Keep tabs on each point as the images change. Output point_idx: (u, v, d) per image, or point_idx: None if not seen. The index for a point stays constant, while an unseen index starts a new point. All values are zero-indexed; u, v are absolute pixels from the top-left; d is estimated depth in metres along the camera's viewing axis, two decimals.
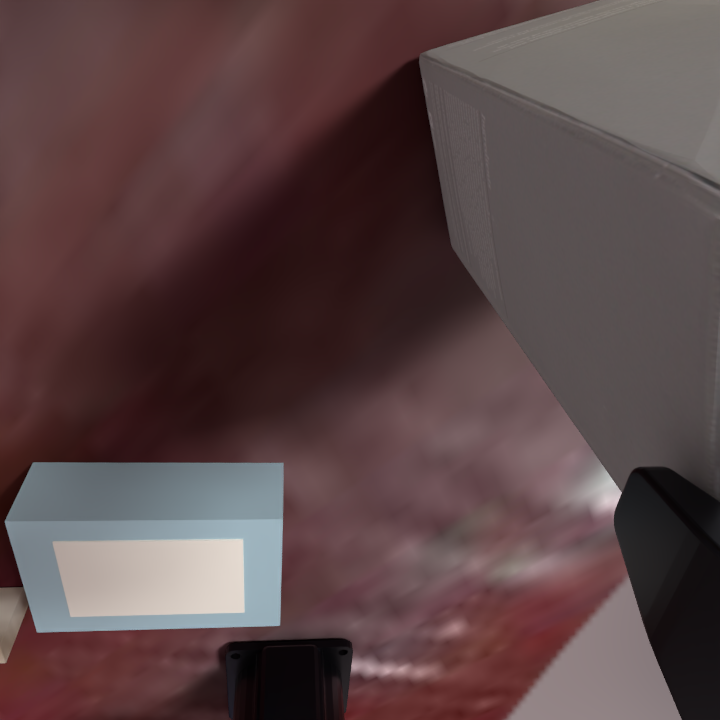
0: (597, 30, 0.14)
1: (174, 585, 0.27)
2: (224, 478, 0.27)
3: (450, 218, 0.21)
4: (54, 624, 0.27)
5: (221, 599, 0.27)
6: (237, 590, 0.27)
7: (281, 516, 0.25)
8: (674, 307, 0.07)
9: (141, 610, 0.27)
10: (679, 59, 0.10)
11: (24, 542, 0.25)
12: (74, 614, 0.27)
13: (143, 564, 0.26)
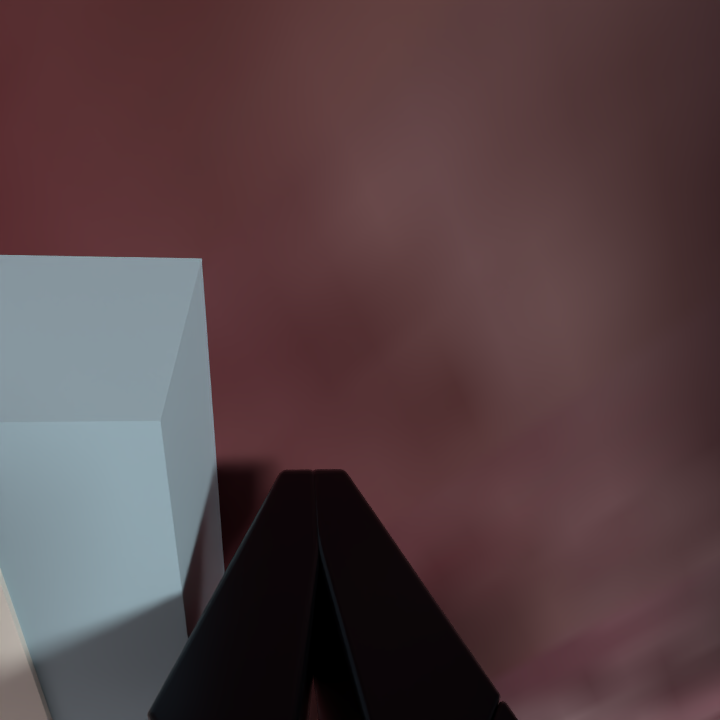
0: None
1: None
2: None
3: None
4: None
5: None
6: None
7: (156, 409, 0.05)
8: None
9: None
10: None
11: None
12: None
13: None
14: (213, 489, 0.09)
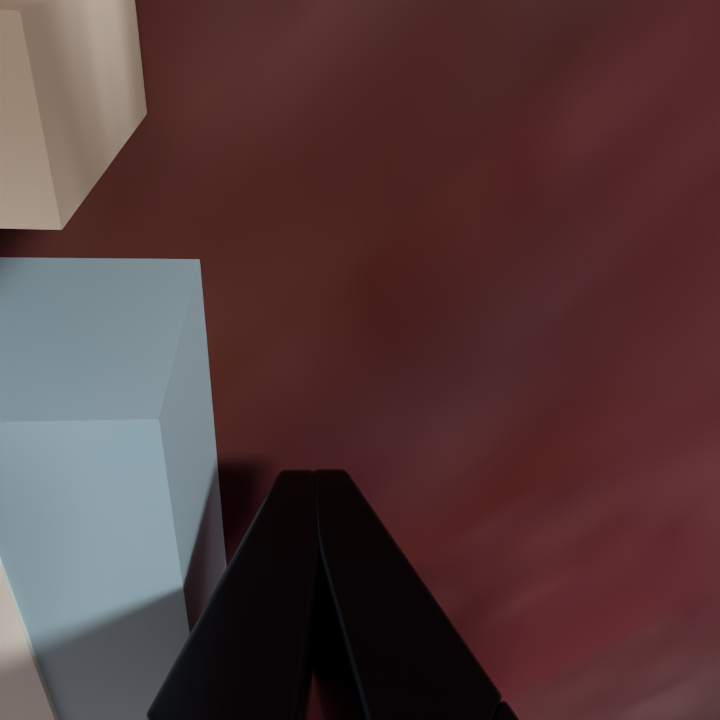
0: None
1: None
2: None
3: None
4: None
5: None
6: None
7: (154, 407, 0.05)
8: None
9: None
10: None
11: None
12: None
13: None
14: (214, 486, 0.09)
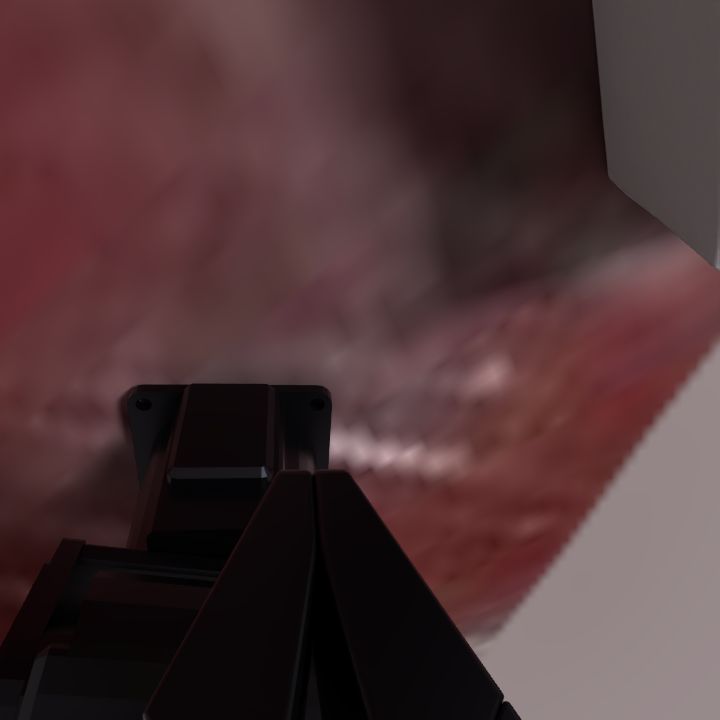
0: None
1: None
2: None
3: None
4: None
5: None
6: None
7: None
8: (683, 213, 0.14)
9: None
10: None
11: None
12: None
13: None
14: None
